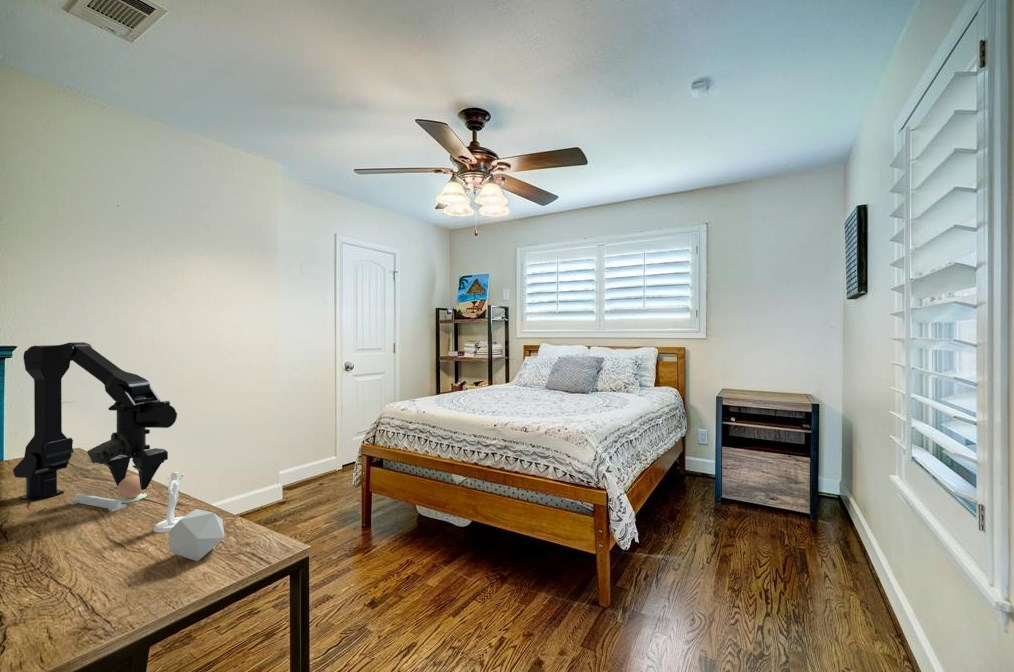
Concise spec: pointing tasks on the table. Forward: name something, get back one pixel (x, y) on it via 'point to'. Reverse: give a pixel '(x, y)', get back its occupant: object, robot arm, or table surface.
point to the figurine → (170, 505)
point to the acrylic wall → (98, 502)
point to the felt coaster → (129, 500)
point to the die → (196, 534)
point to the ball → (129, 487)
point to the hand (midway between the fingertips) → (131, 487)
